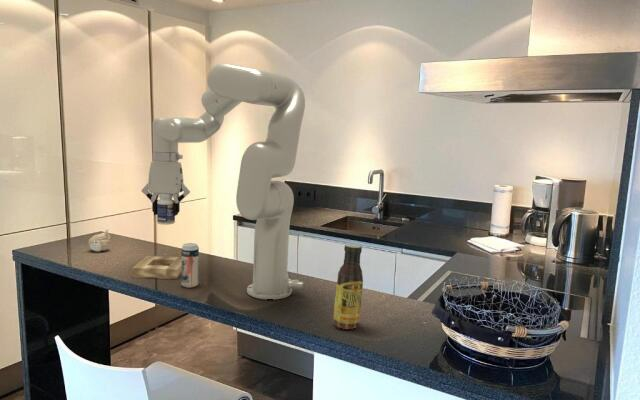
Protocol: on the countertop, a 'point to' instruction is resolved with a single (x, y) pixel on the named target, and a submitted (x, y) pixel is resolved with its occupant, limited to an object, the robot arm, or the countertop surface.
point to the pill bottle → (165, 209)
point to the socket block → (158, 267)
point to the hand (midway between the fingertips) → (166, 214)
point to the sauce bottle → (349, 289)
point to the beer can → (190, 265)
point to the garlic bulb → (100, 242)
